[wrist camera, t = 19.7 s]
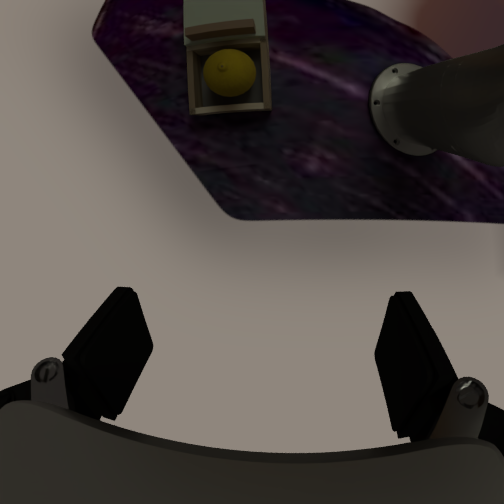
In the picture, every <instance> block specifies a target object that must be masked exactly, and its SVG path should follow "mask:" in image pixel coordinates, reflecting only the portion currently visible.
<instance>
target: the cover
mask: <svg viewBox="0 0 504 504" xmlns="http://www.w3.org/2000/svg"><path fill="white" fill-rule="evenodd" d="M264 37H265V26H264V11H263V0H184V45H185V46H186V47H187V46H192V45H198V44H204V43H211V42H218V41H227V40H236V39H248V38H264Z"/></svg>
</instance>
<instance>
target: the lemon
mask: <svg viewBox="0 0 504 504" xmlns="http://www.w3.org/2000/svg"><path fill="white" fill-rule="evenodd" d="M203 76H204V80H205V82H206V84H207V86H208V87H209V88H210V89H211V90H212V91H213V92H215V93H216V94H219V95H222V96H227V97H233V96H238V95H241V94H243V93H245V92H246V91H248V90H249V89H250V88H251V86H252V85H253V83H254V81H255V78H256V68H255V65H254V62H253V61H252V60H251V58H250V57H249V56H248V55H246V54H245V53H244V52H241V51H239V50H235V49H223V50H220V51H217V52H215V53H214V54H212V55H211V56H210V57H209V58H208V59H207V61H206V62H205V65H204V68H203Z"/></svg>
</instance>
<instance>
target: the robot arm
mask: <svg viewBox="0 0 504 504" xmlns="http://www.w3.org/2000/svg"><path fill="white" fill-rule="evenodd" d="M392 70H393V71H394V73H393V72H392ZM374 101H375V102H376V105H374ZM369 109H370V115H371V117H372V120H373V123H374V125H375V127H376V129H377V131H378V132H379V134H380V135H381V136H382V138H383V139H384V140H385V141H386V142H387V143H388V144H389V145H391V146H392V147H394V148H395V149H396V150H399V151H401V152H403V153H406V154H409V155H415V156H422V155H428V154H431V153H433V152H435V151H436V150H441V151H444V152H448V153H451V154H455V155H458V156H462V157H465V158H468V159H471V160H474V161H477V162H480V163H484V164H487V165H491V166H497V167H502V166H504V44H503V45H500V46H498V47H495V48H492V49H488V50H484V51H481V52H478V53H474V54H470V55H466V56H462V57H458V58H454V59H450V60H447V61H443V62H440V63H436V64H433V65H430V66H426V67H423V68H422V67H420V66H417V65H414V64H408V63H400V64H395V65H392V66H389V67H388V68H386V69H384V70H383V71H382V72H380V73H379V74H378V76H377V77H376V78H375V80H374V81H373V84H372V86H371V89H370V94H369ZM394 140H396V142H395V143H394ZM152 350H153V342H152V339H151V336H150V333H149V330H148V327H147V324H146V321H145V318H144V315H143V312H142V309H141V305H140V302H139V299H138V295H137V293H136V292H134V291H133V289H132V288H130V287H117V288H116V289H115V290H114V291H113V292H112V293H111V294H110V296H109V297H108V298H107V299H106V300H105V301H104V303H103V304H102V305H101V306H100V307H99V308H98V310H97V311H96V312H95V313H94V315H93V316H92V317H91V318H90V319H89V321H88V322H87V323H86V324H85V325H84V327H83V328H82V329H81V330H80V332H79V333H78V334H77V335H76V337H75V338H74V339H73V341H72V342H71V343H70V344H69V346H68V347H67V348H66V350H65V351H64V352H63V354H62V356H63V358H64V361H63V362H61V361H60V360H59V359H57V358H53V357H50V358H46V359H44V360H41V361H40V362H39V363H37V364H36V366H35V367H34V369H33V370H32V374H31V380H28V381H25V382H23V383H20V384H17V385H15V386H12V387H9V388H6V389H4V390H2V391H0V504H504V410H502V409H500V408H498V407H496V406H494V405H492V404H490V403H488V397H489V395H488V391H487V389H486V387H485V386H484V385H483V384H482V383H481V382H480V381H479V380H477V379H475V378H472V377H463V378H460V379H458V377H457V375H456V373H455V371H454V369H453V367H452V365H451V363H450V360H449V359H448V356H447V355H446V353H445V350H444V348H443V347H442V345H441V343H440V341H439V339H438V337H437V335H436V333H435V331H434V330H433V328H432V326H431V325H430V323H429V321H428V319H427V318H426V316H425V314H424V312H423V311H422V309H421V307H420V305H419V304H418V302H417V300H416V299H415V297H414V296H413V294H412V292H410V291H408V292H407V291H406V292H396V293H395V294H394V296H391V297H390V299H389V303H388V306H387V310H386V314H385V318H384V322H383V325H382V329H381V332H380V336H379V339H378V342H377V345H376V349H375V361H376V365H377V368H378V372H379V376H380V380H381V383H382V387H383V392H384V396H385V400H386V403H387V408H388V413H389V417H390V422H391V426H392V430H393V431H394V432H395V431H397V435H398V438H404V437H410V441H411V442H410V443H404V444H398V445H392V446H386V447H379V448H371V449H361V450H352V451H340V452H325V453H266V452H249V451H238V450H229V449H220V448H212V447H205V446H199V445H193V444H187V443H182V442H177V441H172V440H167V439H163V438H158V437H154V436H150V435H146V434H142V433H138V432H135V431H131V430H128V429H124V428H121V427H117V426H115V425H111V424H108V423H105V422H102V421H100V418H101V416H103V417H105V418H108V419H111V420H115V419H116V417H117V415H119V414H121V413H122V411H123V409H124V407H125V405H126V403H127V401H128V399H129V397H130V395H131V393H132V390H133V389H134V386H135V384H136V382H137V380H138V378H139V376H140V374H141V372H142V370H143V368H144V366H145V364H146V363H147V360H148V358H149V356H150V355H151V353H152Z"/></svg>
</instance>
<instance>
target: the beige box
mask: <svg viewBox="0 0 504 504" xmlns="http://www.w3.org/2000/svg"><path fill="white" fill-rule="evenodd" d="M263 11H264V26H265V37H264V38H248V39H236V40H227V41H218V42H211V43H204V44H198V45H192V46H187V74H188V94H189V111H190V115H209V114H220V113H232V112H247V111H272V101H271V81H270V63H269V46H268V31H267V17H266V4H265V0H263ZM223 49H235V50H239V51H241V52H244V53H245V54H246V55H248V56H249V57H250V58H251V60H252V61H253V62H254V65H255V68H256V78H255V81H254V83H253V85H252V86H251V88H250V89H249V90H248V91H246V92H245V93H243V94H241V95H238V96H233V97H227V96H222V95H219V94H216V93H215V92H213V91H212V90H211V89H210V88H209V87H208V86H207V84H206V82H205V80H204V76H203V68H204V65H205V62H206V61H207V59H208V58H209V57H210V56H211V55H212V54H214V53H215V52H217V51H220V50H223Z"/></svg>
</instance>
